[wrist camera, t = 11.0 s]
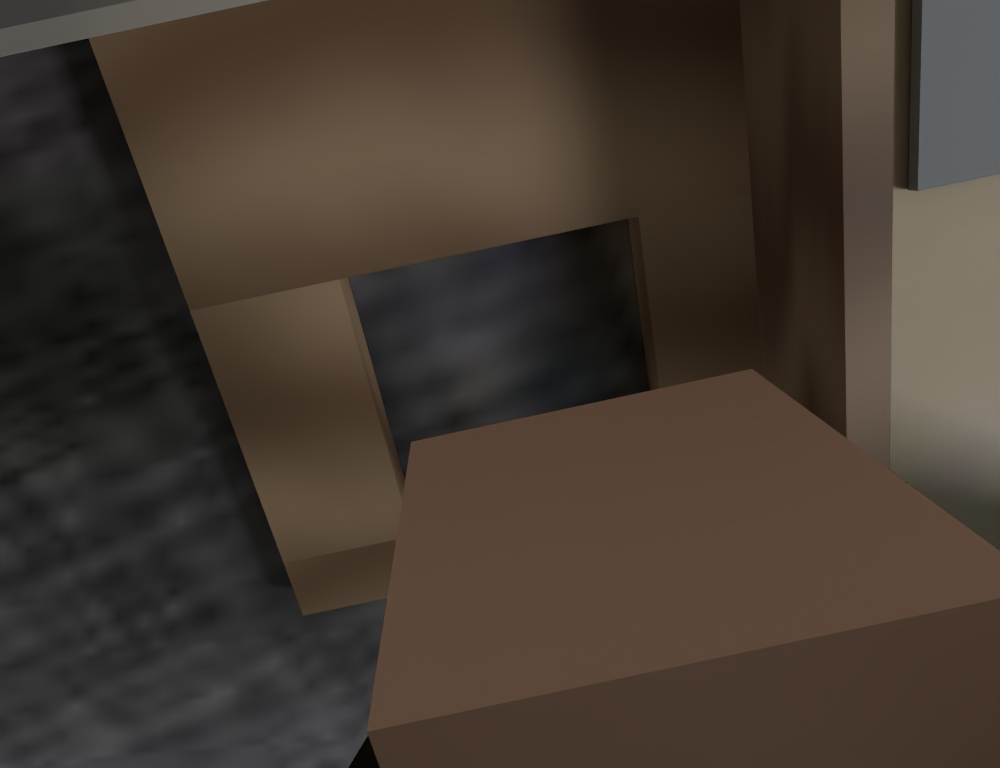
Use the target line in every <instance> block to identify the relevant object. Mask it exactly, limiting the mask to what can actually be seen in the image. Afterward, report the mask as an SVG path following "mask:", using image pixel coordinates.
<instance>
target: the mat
mask: <svg viewBox="0 0 1000 768" xmlns="http://www.w3.org/2000/svg"><path fill="white" fill-rule="evenodd" d="M995 174H1000V0H912V32H911V83H910V135H909V186H908V190H915V191H919V190H924V189H929V188H933V187H938V186H943V185H948V184H952V183H957V182H962V181H967V180H971V179H976V178H981V177H986V176H991V175H995Z"/></svg>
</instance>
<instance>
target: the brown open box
mask: <svg viewBox="0 0 1000 768" xmlns="http://www.w3.org/2000/svg"><path fill="white" fill-rule="evenodd" d="M894 39H895V0H267V1H262V2H257V3H253V4H248V5H243V6H239V7H234V8H229V9H224V10H220V11H215V12H210V13H206V14H201V15H196V16H191V17H187V18H182V19H177V20H173V21H168V22H163V23H158V24H154V25H149V26H144V27H140V28H135V29H130V30H125V31H121V32H116V33H111V34H107V35H102V36H97V37H92V38H89V41H90V44H91V47H92V49H93V52H94V55H95V57H96V60H97V63H98V65H99V68H100V71H101V73H102V76H103V79H104V82H105V84H106V87H107V90H108V92H109V95H110V98H111V100H112V103H113V106H114V108H115V111H116V114H117V116H118V119H119V122H120V125H121V127H122V130H123V133H124V135H125V138H126V141H127V143H128V146H129V149H130V151H131V154H132V157H133V160H134V162H135V165H136V168H137V170H138V173H139V176H140V178H141V181H142V184H143V186H144V189H145V192H146V194H147V197H148V200H149V203H150V205H151V208H152V211H153V213H154V216H155V219H156V221H157V224H158V227H159V229H160V232H161V235H162V238H163V240H164V243H165V246H166V248H167V251H168V254H169V256H170V259H171V262H172V264H173V267H174V270H175V272H176V275H177V278H178V281H179V283H180V286H181V289H182V291H183V294H184V297H185V299H186V302H187V305H188V307H189V310H190V313H191V316H192V318H193V321H194V324H195V326H196V329H197V332H198V334H199V337H200V340H201V342H202V345H203V348H204V350H205V353H206V356H207V359H208V361H209V364H210V367H211V369H212V372H213V375H214V377H215V380H216V383H217V385H218V388H219V391H220V394H221V396H222V399H223V402H224V404H225V407H226V410H227V412H228V415H229V418H230V420H231V423H232V426H233V428H234V431H235V434H236V437H237V439H238V442H239V445H240V447H241V450H242V453H243V455H244V458H245V461H246V463H247V466H248V469H249V472H250V474H251V477H252V480H253V482H254V485H255V488H256V490H257V493H258V496H259V498H260V501H261V504H262V506H263V509H264V512H265V515H266V517H267V520H268V523H269V525H270V528H271V531H272V533H273V536H274V539H275V541H276V544H277V547H278V550H279V552H280V555H281V558H282V560H283V563H284V566H285V568H286V571H287V574H288V576H289V579H290V582H291V584H292V587H293V590H294V593H295V595H296V598H297V601H298V603H299V606H300V609H301V611H302V614H303V616H304V615H309V614H314V613H318V612H323V611H328V610H333V609H338V608H342V607H347V606H352V605H357V604H362V603H366V602H371V601H376V600H381V599H386V598H387V596H388V590H389V583H390V577H391V570H392V564H393V557H394V551H395V544H396V538H397V531H398V525H399V518H400V511H401V505H402V498H403V492H404V485H405V479H404V476H403V472H402V469H401V465H400V462H399V458H398V455H397V451H396V447H395V444H394V440H393V437H392V433H391V430H390V426H389V422H388V419H387V415H386V412H385V408H384V405H383V401H382V397H381V394H380V390H379V387H378V383H377V380H376V376H375V372H374V369H373V365H372V362H371V358H370V355H369V351H368V347H367V344H366V340H365V337H364V333H363V330H362V326H361V323H360V319H359V315H358V312H357V308H356V305H355V301H354V298H353V294H352V290H351V287H350V283H349V280H348V278H349V277H353V276H358V275H363V274H368V273H372V272H377V271H382V270H387V269H391V268H396V267H401V266H406V265H410V264H415V263H420V262H425V261H430V260H434V259H439V258H444V257H449V256H453V255H458V254H463V253H468V252H472V251H477V250H482V249H487V248H491V247H496V246H501V245H506V244H510V243H515V242H520V241H525V240H529V239H534V238H539V237H544V236H549V235H553V234H558V233H563V232H568V231H572V230H577V229H582V228H587V227H591V226H596V225H601V224H606V223H610V222H615V221H620V220H625V219H628V223H629V231H630V239H631V247H632V255H633V263H634V271H635V278H636V286H637V294H638V302H639V310H640V318H641V326H642V334H643V342H644V350H645V358H646V366H647V374H648V382H649V389H650V391H651V390H655V389H660V388H665V387H669V386H674V385H679V384H683V383H688V382H693V381H697V380H702V379H707V378H711V377H716V376H721V375H725V374H730V373H735V372H739V371H744V370H749V369H753V370H754V371H756V372H757V373H758V374H760V375H761V376H762V377H764V378H765V379H766V380H768V381H769V382H771V383H772V384H773V385H775V386H776V387H777V388H779V389H780V390H781V391H783V392H784V393H786V394H787V395H788V396H790V397H791V398H792V399H794V400H795V401H796V402H798V403H799V404H801V405H802V406H803V407H805V408H806V409H807V410H809V411H810V412H811V413H813V414H814V415H816V416H817V417H818V418H820V419H821V420H822V421H824V422H825V423H826V424H828V425H829V426H830V427H832V428H833V429H835V430H836V431H837V432H839V433H840V434H841V435H843V436H844V437H845V438H847V439H848V440H850V441H851V442H852V443H854V444H855V445H856V446H858V447H859V448H860V449H862V450H863V451H865V452H866V453H867V454H869V455H870V456H871V457H873V458H874V459H875V460H877V461H878V462H880V463H881V464H882V465H884V466H885V467H886V468H888V469H889V470H890V390H891V302H892V214H893V127H894Z"/></svg>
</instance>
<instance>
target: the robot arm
mask: <svg viewBox="0 0 1000 768" xmlns="http://www.w3.org/2000/svg"><path fill="white" fill-rule="evenodd" d="M349 768H380V766H379V764H378V761H377V758H376V756H375V753H374V750H373V747H372V745H371V742H370V739H369V736H368V737H367V738H366V740H365V741H364V743H363V745H362V746H361V748H360V750H359V751H358V753H357V755H356V756H355V758H354V760H353V761H352V763H351V764H350V766H349Z"/></svg>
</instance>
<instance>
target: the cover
mask: <svg viewBox="0 0 1000 768" xmlns="http://www.w3.org/2000/svg"><path fill="white" fill-rule="evenodd" d="M262 1H267V0H0V57H3V56H7V55H12V54H17V53H22V52H26V51H31V50H36V49H40V48H45V47H50V46H55V45H59V44H64V43H69V42H73V41H78V40H83V39H88V38H92V37H97V36H102V35H107V34H111V33H116V32H121V31H125V30H130V29H135V28H140V27H144V26H149V25H154V24H158V23H163V22H168V21H173V20H177V19H182V18H187V17H191V16H196V15H201V14H206V13H210V12H215V11H220V10H224V9H229V8H234V7H239V6H243V5H248V4H253V3H257V2H262Z"/></svg>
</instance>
